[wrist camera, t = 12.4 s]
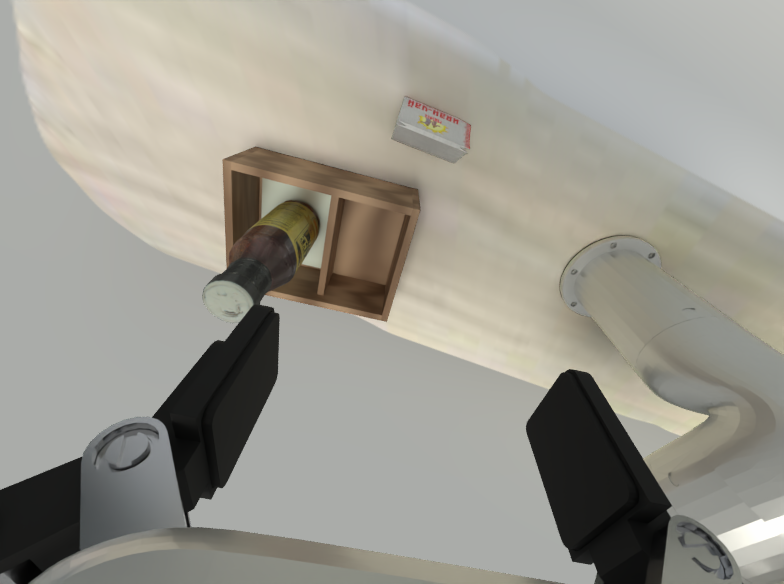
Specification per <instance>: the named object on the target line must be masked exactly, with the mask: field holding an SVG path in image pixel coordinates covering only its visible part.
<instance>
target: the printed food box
mask: <svg viewBox="0 0 784 584" xmlns="http://www.w3.org/2000/svg"><path fill="white" fill-rule="evenodd" d="M470 128H471V125H470V124H468V123H466V122H465V121H463V120H461V119H459V118H456V117H454V116H451V115H449V114H446V113H444V112H442V111H439V110H437V109H434V108H432V107H430V106H427V105H425V104H422V103H420V102H418V101H415V100H413V99H410V98H408V97H406V96H405V98H404V101H403V104H402V107H401V110H400V113H399V116H398V119H397V123H396V126H395V129H394V132H393V135H392V138H391V139H393V140H395V141H398V142H400V143H403V144H406V145H408V146H411V147H413V148H416V149H418V150H421V151H423V152H426V153H429V154H431V155H434V156H436V157H439V158H441V159H444V160H446V161H449V162H451V163H455V162H456V161H458V160H459V159H460V158H461V157H462V156H463V155H465V154H467V152H466V151H465V150H463V149H462V148H467V149H470V146H469V140H470Z"/></svg>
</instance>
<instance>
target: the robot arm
mask: <svg viewBox="0 0 784 584" xmlns="http://www.w3.org/2000/svg"><path fill="white" fill-rule="evenodd" d="M661 267H662V266H661V258H660V256H659V253H658V252H657V251H656V249H655V248H654V247H653V246H652V245H650V244H649V243H647V242H646V241H644V240H642V239H640V238H636V237H632V236H616V237H610V238H606V239H603V240H600V241H598V242H596V243H593V244H591V245H590V246H588V247H586V248H585V249H583V250H582V251H581V252H580V253H578V254H577V255H576V256H575V257H574V258H573V259H572V260H571V261H570V263H569V264H568V266H567V267H566V269H565V270H564V273H563V275H562V277H561V282H560V292H561V296H562V298H563V300H564V302H565V303H566V304H567V306H568V307H569V308H570V309H571V310H573V311H574V312H576V313H578V314H580V315H583V316H587V317H592V318H593V320H594V321H595V322H596V323H597V325H598V326H599V327H600V328H601V330H602V331H603V332H604V333H605V335H606V336H607V337H608V338H609V340H610V341H611V342H612V343H613V345H614V346H615V347H616V348H617V350H618V351H619V352H620V353H621V355H622V356H623V357H624V358H625V360H626V361H627V362H628V363H629V365H630V366H631V367H632V368H633V370H634V371H635V372H636V373H637V374H638V376H639V377H640V378H641V379H642V381H643V382H644V383H645V384H646V386H647V387H648V388H649V389H650V390H651V391H652V392H653V393H655V394H656V395H657V396H659V397H660V398H662V399H663V400H665V401H667V402H669V403H671V404H673V405H676V406H678V407H681V408H684V409H687V410H690V411H693V412H697V413H701V414H705V415H709V417H708V418H707V419H706V420H705V421H704V422H702V423H701V424H699V425H698V426H696V427H694V428H693V430H691V431H689V432H688V433H686V434H684V435H682V436H681V437H679V438H677V439H675V440H674V441H672V442H670V443H668V444H667V445H665V446H663V447H662V448H660V449H658V450H656V451H655V452H653V453H652V454H650V455H648V456H647V457H645V458H642V456H641V455H640V453H639V452H638V450H637V448H636V447H635V445H634V443H633V442H632V440H631V439H630V437H629V435H628V434H627V432H626V431H625V429H624V427H623V426H622V424H621V422H620V421H619V419H618V418H617V416H616V414H615V413H614V411H613V410H612V408H611V406H610V405H609V403H608V402H607V400H606V398H605V397H604V395H603V393H602V392H601V390H600V389H599V387H598V385H597V384H596V382H595V381H594V379H593V377H592V376H591V375H590V374H589V373H587V372H582V371H577V370H572V369H569V370H567V371H566V372H565V373H564V372H563V373H561V374H560V376H559V377H558V378H557V380H556V381H555V383H554V384H553V386H552V387H551V388H550V390H549V391H548V393H547V394H546V396H545V397H544V399H543V400H542V402H541V403H540V404H539V406H538V407H537V409H536V410H535V412H534V413H533V414H532V416H531V417H530V419H529V420H528V422H527V425H526V432H527V435H528V438H529V442H530V444H531V448H532V451H533V454H534V457H535V460H536V463H537V466H538V469H539V472H540V475H541V478H542V481H543V485H544V488H545V491H546V493H547V497H548V500H549V503H550V506H551V509H552V512H553V515H554V518H555V521H556V524H557V528H558V531H559V534H560V537H561V540H562V542H563V544H564V545H565V546H566V547H567V548H568V550H569V553H570V555H571V559H572V561H573V562H578V563H584V564H592V563H594V564H595V567H596V569H597V575H596V579H595V583H594V584H784V355H783V354H781V353H780V352H778V351H777V350H775V349H774V348H772V347H771V346H769V345H768V344H766V343H765V342H763V341H762V340H760V339H759V338H757V337H756V336H754V335H753V334H752V333H750V332H749V331H747V330H746V329H745V328H743V327H742V326H740V325H739V324H738V323H736V322H735V321H733V320H732V319H730V318H729V317H728V316H726V315H725V314H723V313H722V312H721V311H719V310H718V309H716V308H715V307H714V306H712V305H711V304H709V303H708V302H707V301H705V300H704V299H702V298H701V297H700V296H698V295H697V294H695V293H694V292H693V291H691V290H690V289H688V288H687V287H686V286H684V285H683V284H681V283H680V282H679V281H677V280H676V279H674V278H673V277H672V276H670V275H669V274H667V273H666V272H665V271H663V270H662V269H661ZM278 347H279V314H278V313H274V308H272V307H268V306H262V305H258V304H254V305H253V306H252V307H251V308H250V309H249V311H248V312H247V313H246V315H245V316H244V317H243V318H242V320H241V321H240V322H239V324H238V325H237V326H236V328H235V329H234V330H233V331H232V333H231V334H230V336H229V337H228V338H227V339H226V341H219V340H217V341H215V342H214V343H213V344H212V345H211V346H210V347H209V348H208V349H207V351H206V352H205V353H204V354H203V355H202V357H201V358H200V359H199V360H198V362H197V363H196V364H195V365H194V366H193V368H192V369H191V370H190V372H189V373H188V374H187V375H186V376H185V378H184V379H183V380H182V381H181V382H180V384H179V385H178V386H177V387H176V389H175V390H174V391H173V392H172V394H171V395H170V396H169V397H168V398H167V400H166V401H165V402H164V403H163V405H162V406H161V407H160V408H159V409H158V411H157V412H156V413H155V414H154V416H153V417H152V418H150V417H135V418H130V419H126V420H123V421H121V422H118V423H116V424H113V425H111V426H110V427H108V428H107V429H105V430H104V431H102V432H101V433H99V434H98V435H97V436H96V437H95V438H94V439H93V440H92V441H91V442H90V443H89V445H88V446H87V448H86V450H85V451H84V453H83V457H80V458H78V459H75V460H73V461H70V462H68V463H65V464H63V465H60V466H58V467H56V468H53V469H51V470H48V471H46V472H43V473H41V474H38V475H36V476H33V477H31V478H29V479H26V480H24V481H21V482H19V483H16V484H14V485H11V486H9V487H6V488H4V489H2V490H0V584H563V583H558V582H552V581H546V580H540V579H534V578H529V577H522V576H517V575H511V574H505V573H499V572H494V571H487V570H481V569H476V568H470V567H464V566H458V565H452V564H446V563H440V562H434V561H428V560H421V559H416V558H410V557H404V556H398V555H392V554H386V553H380V552H373V551H366V550H360V549H354V548H349V547H342V546H336V545H330V544H324V543H318V542H311V541H305V540H299V539H292V538H285V537H278V536H271V535H264V534H257V533H250V532H243V531H236V530H224V529H213V528H202V527H201V528H199V527H197V528H194V527H191V523H190V518H189V513H188V512H189V511H191V510H193V509H194V508H195V506H196V504H197V502H198V500H199V498H205V499H212V497H213V495H214V492H215V491H216V489H217V487H219V488H223V487H224V486H225V484H226V483H227V481H228V479H229V477H230V474H231V473H232V471H233V469H234V467H235V465H236V462H237V460H238V458H239V456H240V454H241V452H242V450H243V448H244V446H245V444H246V442H247V440H248V438H249V436H250V434H251V432H252V430H253V427H254V425H255V423H256V421H257V419H258V417H259V415H260V413H261V411H262V409H263V407H264V405H265V403H266V401H267V399H268V397H269V395H270V392H271V390H272V388H273V386H274V384H275V382H276V379H277V374H278V350H279V348H278Z"/></svg>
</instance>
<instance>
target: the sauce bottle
mask: <svg viewBox="0 0 784 584" xmlns="http://www.w3.org/2000/svg"><path fill="white" fill-rule="evenodd" d="M318 234H319V219H318V217H317V214H316V213H315V212H314V211H313V209H312V208H311V207H310V206H309V205H308V204H305V203H303V202H300V201H292V200H289V201H285V202H284V203H281V204H279V205H278V206H276V207H275V208H274V209H273V210H272V211H270V212H269V213H268V214H267V215H265V216H264V217H263V218H262V219H261V220H259V221H258V222H257V223H256V224H255V225H253V226H252V227H251V228H250V229H249V230H247V231H246V232H245V234H244V235H243V236H242V237H241V238H240V239H239V240H237V241H236V242H235V244H234V245H233V247H232V248H231V250H230V252H229V266H228V268H227V269H226V270H225V271H224V272H223V273H222V274H219V275H217V276H215V277H214V278H213V279H212V280H211V281H210V282H209V283H208V284H207V285H206V287H205V288H204V291H203V295H202V298H203V302H204V305H205V306H206V307H207V309H208V310H209V312H210V313H211V314H212V315H214V316H215V317H217V318H218V319H220V320H222V321H226V322H230V323H239V322H240V321H241V320H242V318H243V317H244V316H245V315H246V313H247V312H248V311H249V309H250V308H251V307H252V306H253V305H254V304H258V305H260V301H261V300H262V298H263V296H264V295H265V294H266V293H267V292H269V291H271V290H274V289H276V288H278V287H280V286H282V285H284V284H286V283H288V282H289V281H290V280H291V279H292V278H293V277H294V275H295V274H296V272H297V270H298V269H299V267H300V265H301V264H302V262H303V261H304V259H305V257H306V256H307V254H308V252H309V251H310V249H311V247H312V246H313V244H314V242H315V241H316V239H317V237H318Z"/></svg>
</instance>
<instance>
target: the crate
mask: <svg viewBox="0 0 784 584" xmlns="http://www.w3.org/2000/svg"><path fill="white" fill-rule="evenodd" d="M223 182H224V209H225V236H226V263H227V268H228V266H229V252H230V250H231V248H232V247H233V245H234V244H235V242H236V241H237V240H239V239H240V238H241V237H242V236H243V235H244V234H245V232H246V231H247V230H249V229H250V228H251V227H252V226H253V225H255V224H256V223H257V222H258V221H259V220H261V219H262V218H263V217H264V216H265V215H267V214H268V213H269V212H270V211H272V210H273V209H274V208H275V207H276V206H278V205H279V204H281V203H284V202H285V201H289V200H292V201H300V202H303V203H305V204H308V205H309V206H310V207H311V208H312V209H313V211H314V212H315V213H316V214H317V217H318V219H319V234H318V237H317V239H316V241H315V242H314V244H313V246H312V247H311V249H310V251H309V252H308V254H307V256H306V257H305V259H304V261H303V262H302V264H301V265H300V267H299V269H298V270H297V272H296V274H295V275H294V277H293V278H292V279H291V280H290V281H289V282H288V283H286V284H284V285H282V286H280V287H278V288H276V289H274V290H271V291H269V292H267V293H266V294H265V295H268V296H273V297H277V298H282V299H287V300H291V301H296V302H300V303H305V304H309V305H314V306H318V307H323V308H327V309H332V310H336V311H341V312H345V313H350V314H354V315H359V316H363V317H368V318H372V319H377V320H381V321H386V322H387V319H388V316H389V313H390V309H391V306H392V303H393V299H394V296H395V293H396V289H397V286H398V283H399V279H400V276H401V273H402V269H403V266H404V263H405V260H406V256H407V253H408V250H409V246H410V243H411V240H412V236H413V233H414V230H415V226H416V223H417V220H418V216H419V213H420V202H419V193H418V190H417V189H414V188H410V187H406V186H402V185H398V184H395V183H391V182H387V181H383V180H379V179H376V178H372V177H368V176H364V175H361V174H357V173H353V172H349V171H345V170H342V169H338V168H334V167H330V166H326V165H323V164H319V163H315V162H311V161H308V160H304V159H300V158H296V157H292V156H289V155H285V154H281V153H277V152H273V151H270V150H266V149H262V148H258V147H254V148H251V149H248V150H246V151H243V152H241V153H238V154H235V155H233V156H230V157H228V158H225V159H223Z"/></svg>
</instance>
